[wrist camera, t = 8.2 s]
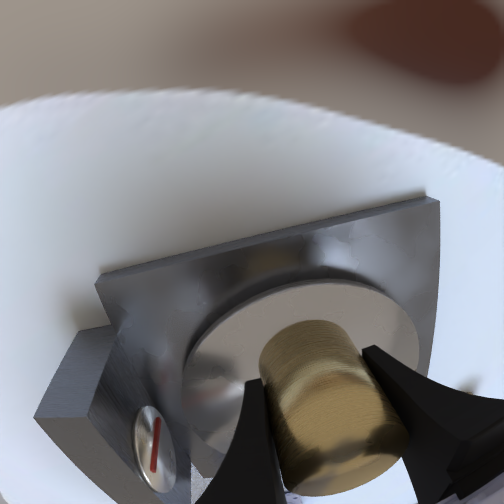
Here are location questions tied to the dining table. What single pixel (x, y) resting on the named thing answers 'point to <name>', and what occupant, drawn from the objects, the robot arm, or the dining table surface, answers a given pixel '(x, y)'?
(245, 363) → the scale pan
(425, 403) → the robot arm
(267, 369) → the cylinder
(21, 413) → the dining table surface
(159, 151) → the dining table surface
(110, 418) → the scale
